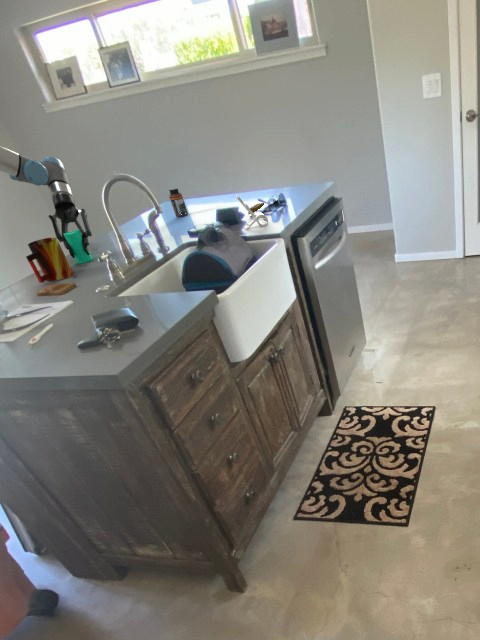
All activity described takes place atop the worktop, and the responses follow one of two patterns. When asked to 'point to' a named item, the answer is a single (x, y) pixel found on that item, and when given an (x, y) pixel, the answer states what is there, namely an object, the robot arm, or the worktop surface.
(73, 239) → the candle
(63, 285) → the cork mat
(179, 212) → the supplement bottle
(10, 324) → the worktop surface
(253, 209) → the tap handle
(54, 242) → the mug
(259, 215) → the plastic part
